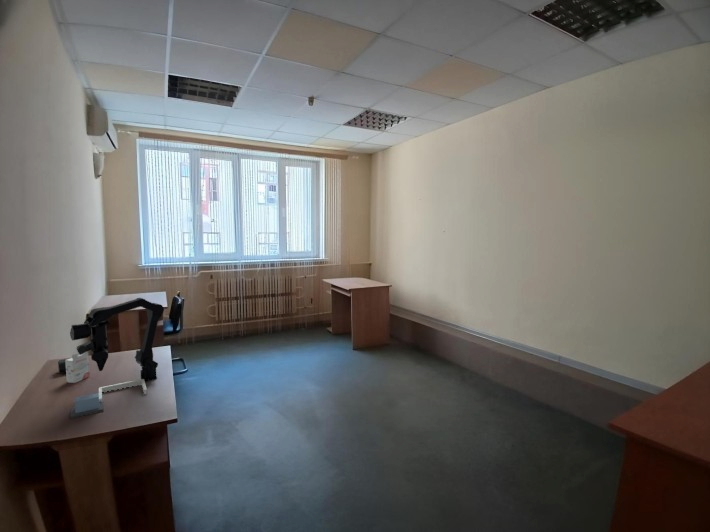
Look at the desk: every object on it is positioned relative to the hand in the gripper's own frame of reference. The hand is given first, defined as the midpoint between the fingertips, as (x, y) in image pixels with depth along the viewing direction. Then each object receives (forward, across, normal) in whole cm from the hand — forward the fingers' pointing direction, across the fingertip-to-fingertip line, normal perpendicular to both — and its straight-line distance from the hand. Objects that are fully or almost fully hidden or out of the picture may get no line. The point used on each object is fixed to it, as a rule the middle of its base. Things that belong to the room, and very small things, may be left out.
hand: (100, 367), depth 166 cm
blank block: (+11, +18, -5) cm, 22 cm away
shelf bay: (+12, +6, +8) cm, 16 cm away
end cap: (+12, -40, -14) cm, 44 cm away
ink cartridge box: (+12, -24, -10) cm, 29 cm away
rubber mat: (+12, +18, -5) cm, 22 cm away
